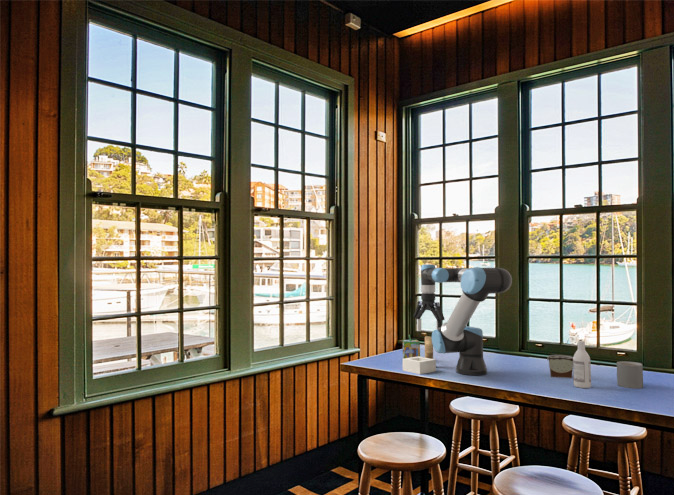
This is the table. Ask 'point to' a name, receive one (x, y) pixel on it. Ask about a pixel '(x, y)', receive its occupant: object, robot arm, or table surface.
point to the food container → (560, 366)
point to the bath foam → (581, 367)
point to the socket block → (419, 365)
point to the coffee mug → (630, 374)
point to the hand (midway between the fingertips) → (428, 332)
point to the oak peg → (428, 347)
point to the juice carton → (411, 348)
